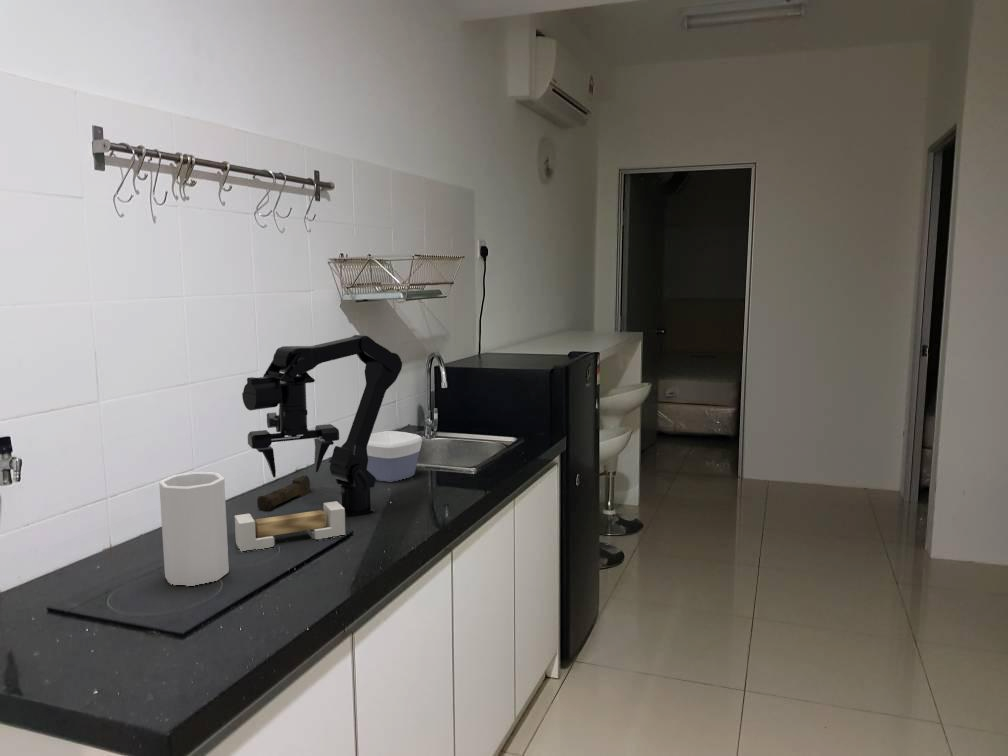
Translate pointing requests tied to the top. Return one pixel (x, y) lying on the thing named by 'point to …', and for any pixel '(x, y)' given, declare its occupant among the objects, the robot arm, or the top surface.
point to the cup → (194, 528)
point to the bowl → (393, 455)
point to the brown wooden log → (284, 494)
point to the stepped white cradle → (249, 541)
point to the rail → (289, 523)
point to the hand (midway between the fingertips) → (295, 474)
